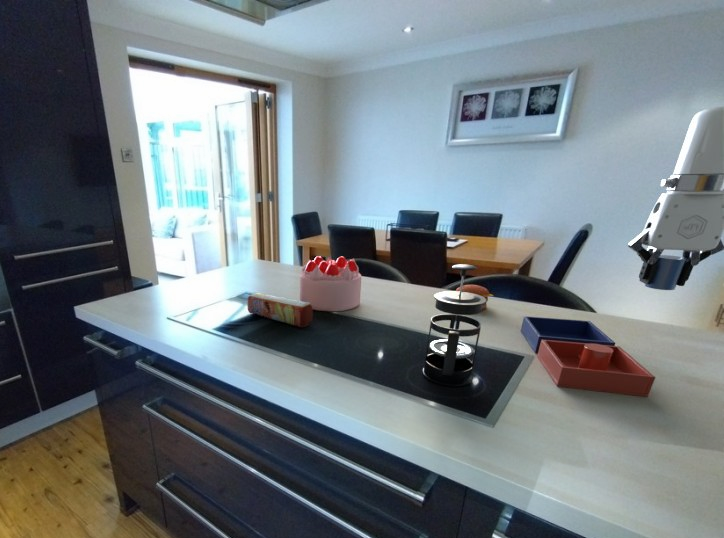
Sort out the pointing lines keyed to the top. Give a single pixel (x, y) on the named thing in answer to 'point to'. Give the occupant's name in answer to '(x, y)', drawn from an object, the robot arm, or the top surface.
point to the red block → (595, 357)
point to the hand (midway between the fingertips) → (661, 282)
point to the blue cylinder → (667, 272)
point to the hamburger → (476, 292)
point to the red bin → (618, 378)
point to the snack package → (281, 309)
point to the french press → (453, 336)
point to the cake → (330, 284)
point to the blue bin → (562, 331)
